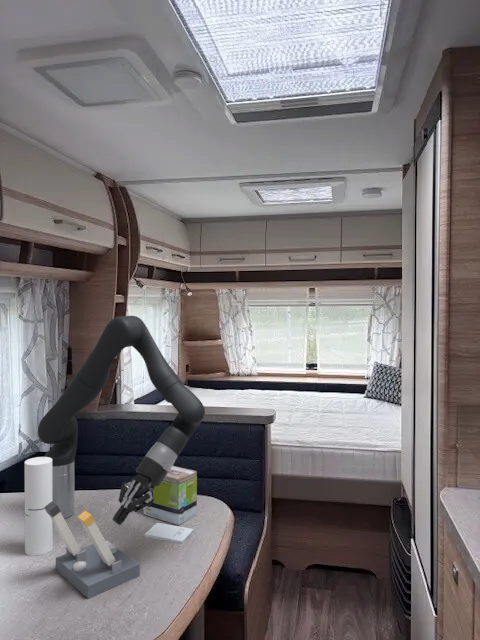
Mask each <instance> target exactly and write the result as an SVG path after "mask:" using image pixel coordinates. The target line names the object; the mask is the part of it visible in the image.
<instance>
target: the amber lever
mask: <svg viewBox="0 0 480 640" xmlns="http://www.w3.org/2000/svg"><path fill="white" fill-rule="evenodd" d="M77 519H78V520H79V523H80V524H81V525H82V526H83V528H84V530H85V532H86V534H87V536H88V538H89V539H90V541H91V544H94V546H95V548H96V550H97V552H98V553H99V555H100V557H101V559H102V561H103V562H104V563H106V564H107V565H108V566H111V567H112V563H114V561H115V558H114V556H113V554H112V552H111V551H110V549H109V547H108V545H107V543H106V541H107V540H106V539H105V538H104V536H103V534H102V532H101V531H100V529H99V527H98V525H97V523H96V521H95V518H94V517H93V515H92V514H91V513H90V512H88V511H87V510H84V511H83V512H81V513H80V514H79V515H78V516H77ZM105 540H106V541H105Z"/></svg>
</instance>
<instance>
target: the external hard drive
mask: <svg viewBox="0 0 480 640" xmlns="http://www.w3.org/2000/svg"><path fill="white" fill-rule="evenodd" d="M194 532H195V529H194V528H190V527H185V526H179V525H175V524H174V525H173V524H168V523H167V524H166V523H164V522H163V523H162V522H156V523H155V524H154V525H153V526H151V527H150V528H149V529H148V530H147V531H146V532H145V533H144V538H147V539H152V540H159V541H163V542H164V541H165V542H171V543H175V544H181V545H183V544H185V542H186V541H187V540H188V538H189V537H191V536H192V535H193V534H194Z"/></svg>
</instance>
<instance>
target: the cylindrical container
mask: <svg viewBox="0 0 480 640" xmlns="http://www.w3.org/2000/svg"><path fill="white" fill-rule="evenodd" d="M50 502H52V458H50V457H44V456H36V457H31V458H28V459H26V460H25V461H24V553H25V555H27V556H31V557H33V556H34V557H36V556H42V555H45V554H47V553H49V552H50V551H52V549H53V548H54V547H53V546H54V545H53V544H54V543H53V521H52V520H51V518H50V516H49V514H48V513H47V512H46V510H45V508H44V507H45V506H46V505H48V504H49V503H50Z"/></svg>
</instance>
